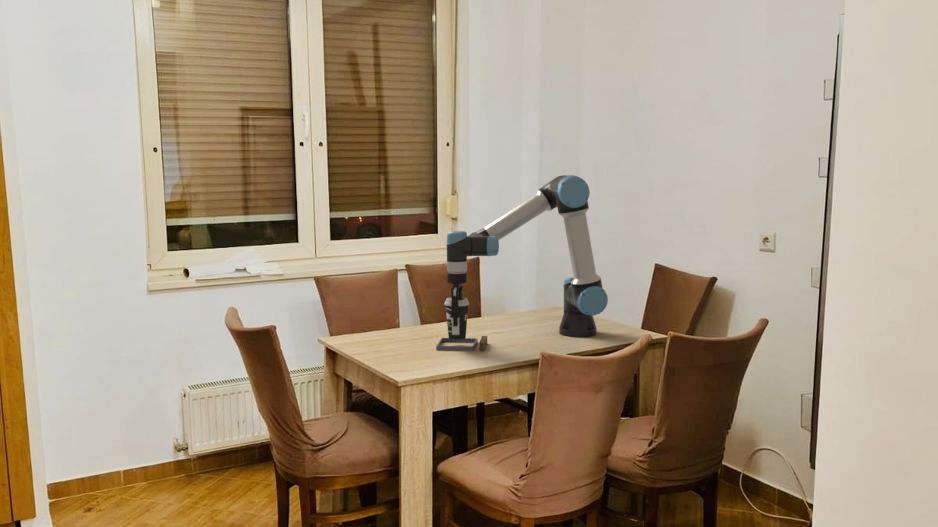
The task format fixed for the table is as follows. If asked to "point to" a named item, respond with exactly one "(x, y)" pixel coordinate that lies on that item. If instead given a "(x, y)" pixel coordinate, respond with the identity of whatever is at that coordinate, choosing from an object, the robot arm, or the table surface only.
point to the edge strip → (483, 343)
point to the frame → (464, 348)
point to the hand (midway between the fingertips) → (457, 332)
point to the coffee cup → (462, 317)
